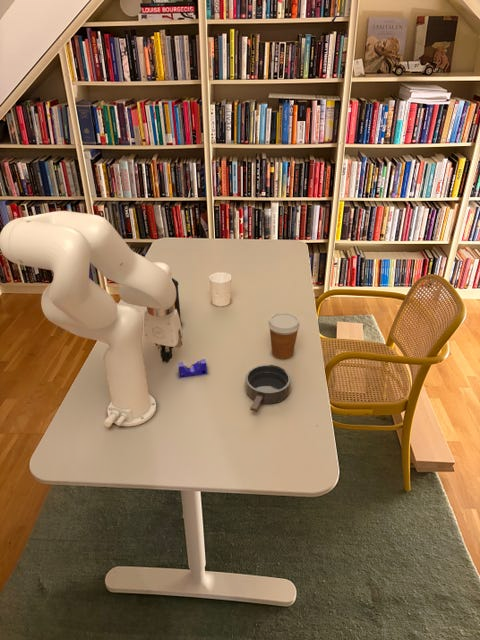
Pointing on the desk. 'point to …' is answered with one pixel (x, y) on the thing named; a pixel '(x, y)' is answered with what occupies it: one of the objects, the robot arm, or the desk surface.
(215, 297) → the white cup
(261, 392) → the pan
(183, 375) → the cable holder
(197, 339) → the desk surface
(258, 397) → the pan handle
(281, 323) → the disposable coffee cup
